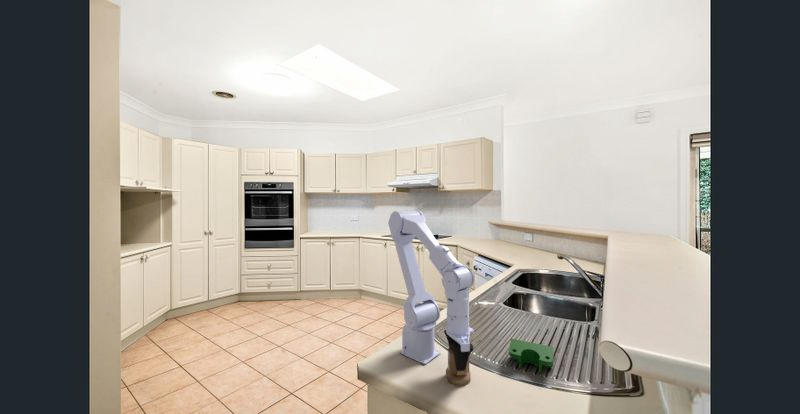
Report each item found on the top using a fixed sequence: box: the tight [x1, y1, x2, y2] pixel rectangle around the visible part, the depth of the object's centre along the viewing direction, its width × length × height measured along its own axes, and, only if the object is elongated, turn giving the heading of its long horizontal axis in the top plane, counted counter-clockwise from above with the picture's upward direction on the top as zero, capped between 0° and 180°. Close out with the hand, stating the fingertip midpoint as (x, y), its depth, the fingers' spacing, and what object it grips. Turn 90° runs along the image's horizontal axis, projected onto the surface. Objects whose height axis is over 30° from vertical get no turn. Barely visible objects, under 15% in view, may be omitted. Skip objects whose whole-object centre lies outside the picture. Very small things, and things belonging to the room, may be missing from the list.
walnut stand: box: [445, 367, 471, 387], centre depth 80 cm, size 6×6×2 cm
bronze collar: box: [447, 347, 470, 375], centre depth 80 cm, size 5×5×5 cm
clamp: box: [508, 338, 555, 375], centre depth 85 cm, size 12×6×9 cm, turn 55°
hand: (457, 363), depth 80 cm, fingers closed on bronze collar, 5 cm apart
